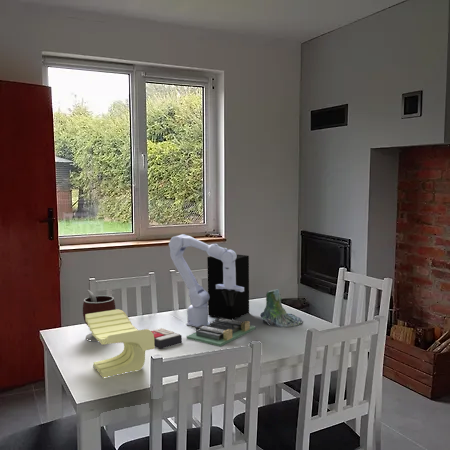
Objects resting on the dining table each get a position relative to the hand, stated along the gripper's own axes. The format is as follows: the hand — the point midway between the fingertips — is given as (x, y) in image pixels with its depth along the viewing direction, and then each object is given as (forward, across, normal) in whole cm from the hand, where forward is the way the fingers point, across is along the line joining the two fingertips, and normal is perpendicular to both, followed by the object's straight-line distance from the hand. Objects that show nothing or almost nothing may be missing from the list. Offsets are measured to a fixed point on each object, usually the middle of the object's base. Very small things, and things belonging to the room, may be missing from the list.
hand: (230, 305), depth 225 cm
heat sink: (+9, -2, +9) cm, 13 cm away
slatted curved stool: (+10, +8, +62) cm, 63 cm away
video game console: (+10, +12, -17) cm, 23 cm away
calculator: (+11, +14, +32) cm, 36 cm away
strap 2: (+7, -2, +2) cm, 8 cm away
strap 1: (+7, -2, +16) cm, 18 cm away
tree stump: (+11, -15, -21) cm, 28 cm away
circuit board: (+10, -2, +9) cm, 14 cm away
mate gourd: (+10, +42, +42) cm, 60 cm away
